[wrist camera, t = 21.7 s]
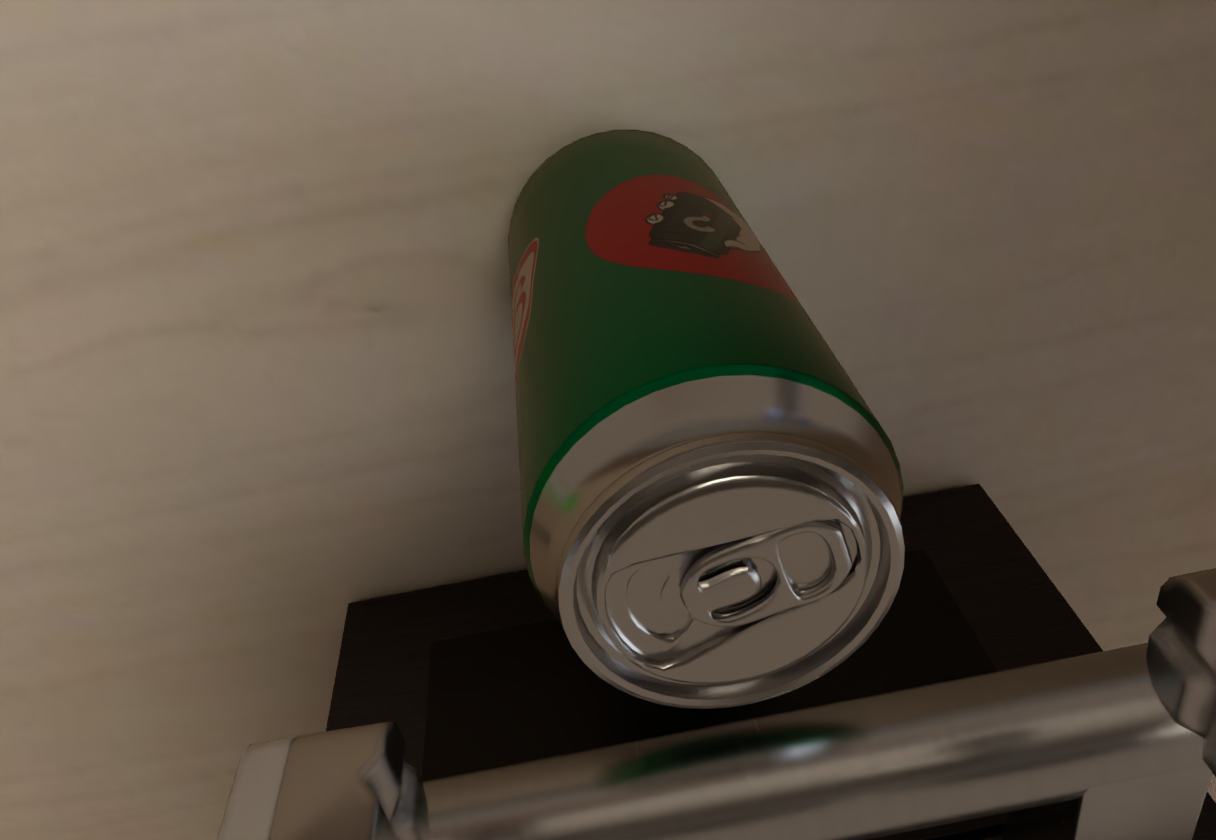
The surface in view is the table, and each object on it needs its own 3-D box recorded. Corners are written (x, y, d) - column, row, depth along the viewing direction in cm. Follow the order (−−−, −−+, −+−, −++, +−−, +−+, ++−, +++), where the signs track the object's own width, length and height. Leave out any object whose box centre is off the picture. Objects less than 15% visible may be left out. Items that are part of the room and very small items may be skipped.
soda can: (469, 176, 21) (452, 514, 10) (686, 84, 20) (890, 344, 10) (559, 363, 23) (615, 775, 13) (754, 285, 23) (968, 653, 13)
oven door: (280, 443, 23) (81, 1047, 12) (993, 308, 24) (1478, 777, 12) (364, 642, 27) (275, 1244, 16) (976, 526, 27) (1329, 1038, 16)
